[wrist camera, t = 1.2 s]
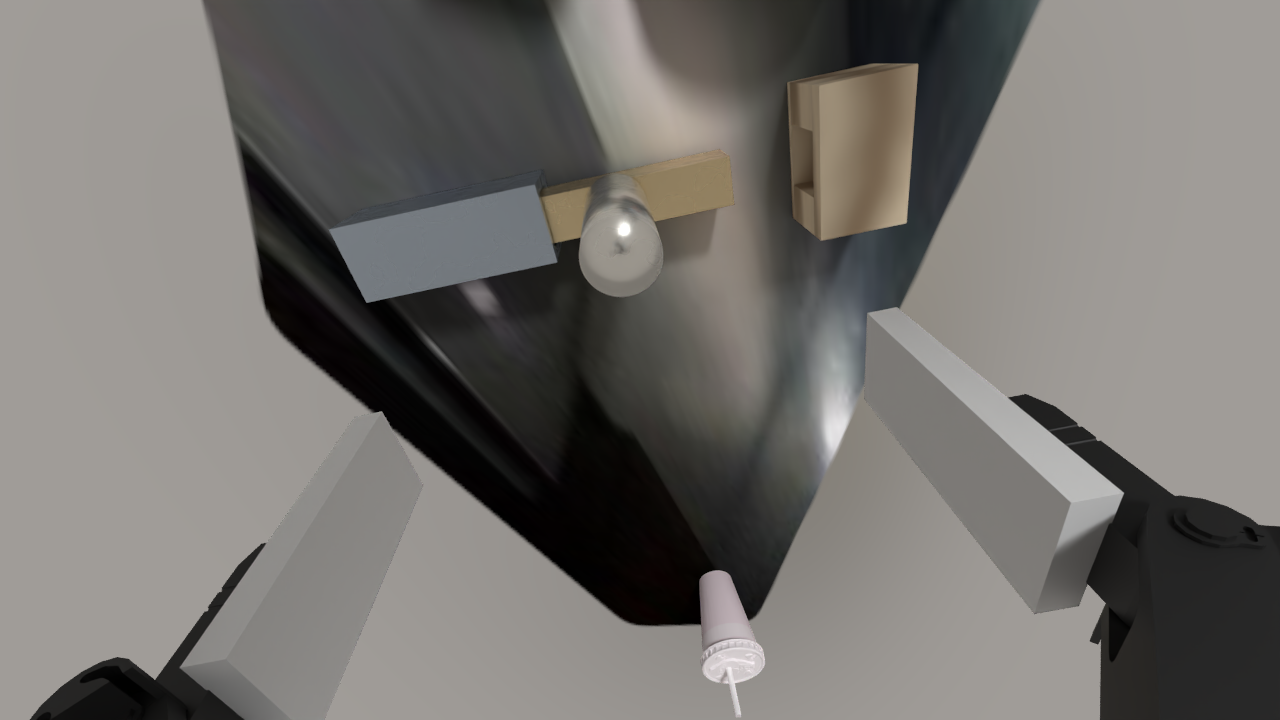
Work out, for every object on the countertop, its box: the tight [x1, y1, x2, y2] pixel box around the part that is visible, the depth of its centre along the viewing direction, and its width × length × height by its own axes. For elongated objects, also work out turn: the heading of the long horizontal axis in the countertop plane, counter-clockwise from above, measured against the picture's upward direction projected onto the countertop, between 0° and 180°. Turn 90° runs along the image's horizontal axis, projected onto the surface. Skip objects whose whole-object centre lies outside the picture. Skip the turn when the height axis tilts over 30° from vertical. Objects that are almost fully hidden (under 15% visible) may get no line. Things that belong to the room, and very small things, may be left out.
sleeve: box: [329, 170, 562, 303], centre depth 34 cm, size 13×5×5 cm, turn 101°
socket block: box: [787, 64, 918, 241], centre depth 33 cm, size 6×9×6 cm, turn 11°
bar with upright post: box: [539, 149, 734, 297], centre depth 30 cm, size 23×4×13 cm, turn 101°
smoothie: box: [699, 570, 765, 717], centre depth 53 cm, size 6×6×14 cm
